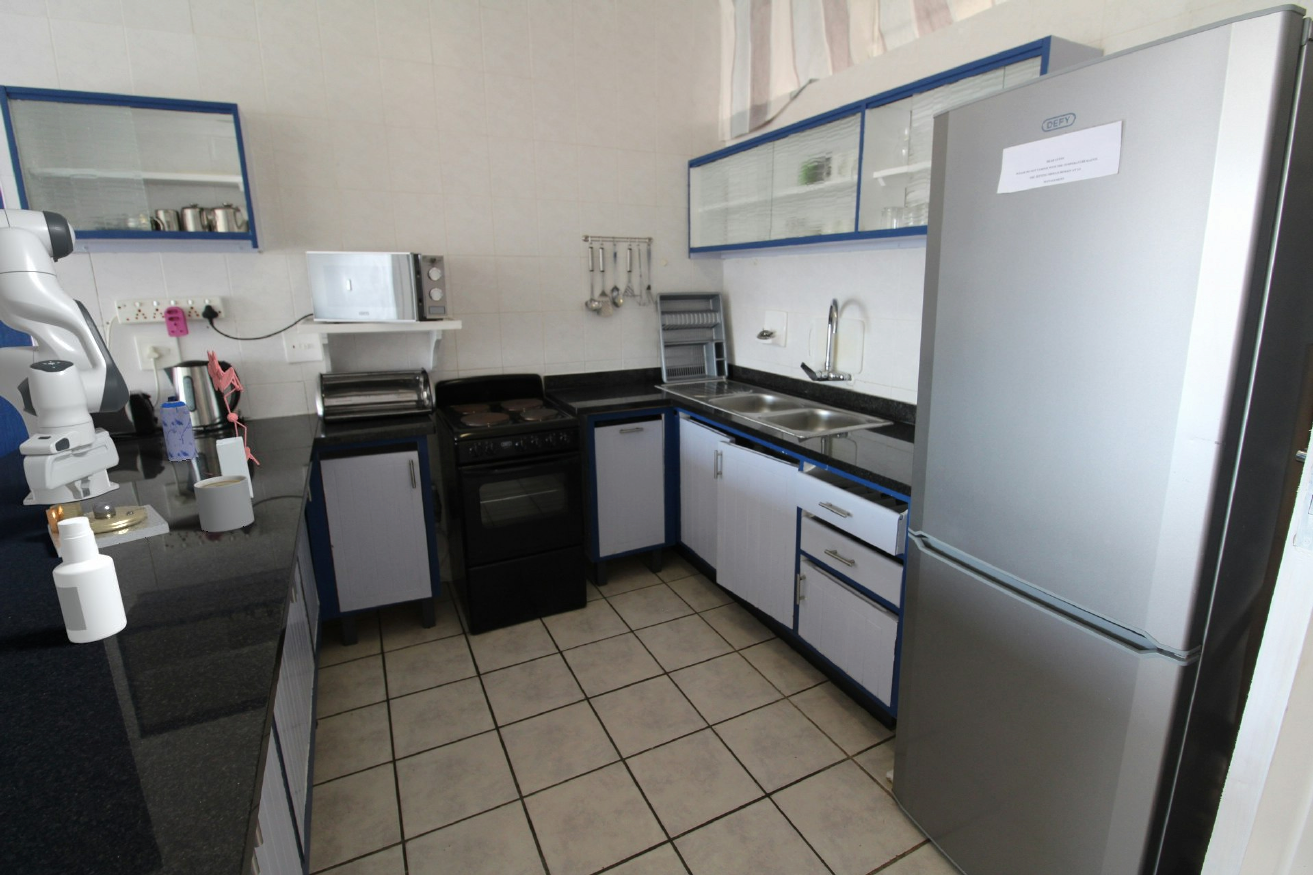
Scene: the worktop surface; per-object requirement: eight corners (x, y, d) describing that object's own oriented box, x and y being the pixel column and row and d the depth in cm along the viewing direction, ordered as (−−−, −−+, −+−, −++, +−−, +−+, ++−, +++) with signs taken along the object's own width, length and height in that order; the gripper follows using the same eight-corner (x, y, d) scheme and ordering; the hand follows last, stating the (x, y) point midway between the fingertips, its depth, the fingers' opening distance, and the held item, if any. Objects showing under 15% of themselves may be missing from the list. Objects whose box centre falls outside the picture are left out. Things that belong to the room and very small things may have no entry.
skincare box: (253, 497, 165) (244, 440, 161) (225, 502, 161) (215, 444, 158) (252, 490, 171) (243, 435, 168) (225, 494, 168) (215, 438, 165)
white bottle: (92, 622, 102) (66, 513, 98) (138, 619, 103) (114, 511, 99) (56, 645, 96) (27, 530, 92) (106, 642, 96) (79, 527, 92)
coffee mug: (255, 525, 145) (248, 482, 142) (202, 535, 139) (193, 490, 137) (251, 509, 155) (244, 469, 153) (201, 518, 150) (193, 476, 148)
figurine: (249, 454, 211) (228, 345, 202) (269, 469, 192) (246, 350, 184) (193, 464, 201) (168, 351, 192) (207, 481, 182) (180, 356, 174)
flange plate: (158, 509, 150) (153, 488, 149) (130, 529, 137) (125, 506, 136) (75, 517, 145) (70, 496, 144) (38, 539, 132) (32, 516, 131)
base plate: (49, 533, 142) (42, 503, 141) (151, 512, 155) (145, 484, 153) (59, 557, 129) (51, 523, 127) (169, 532, 142) (163, 501, 140)
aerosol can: (203, 457, 209) (191, 395, 204) (175, 462, 202) (162, 399, 198) (191, 454, 213) (180, 394, 208) (164, 459, 206) (151, 397, 202)
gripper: (91, 425, 150) (104, 482, 154) (11, 448, 130) (28, 513, 134) (120, 425, 150) (132, 482, 154) (44, 448, 131) (60, 512, 134)
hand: (83, 497), depth 144 cm, fingers closed
